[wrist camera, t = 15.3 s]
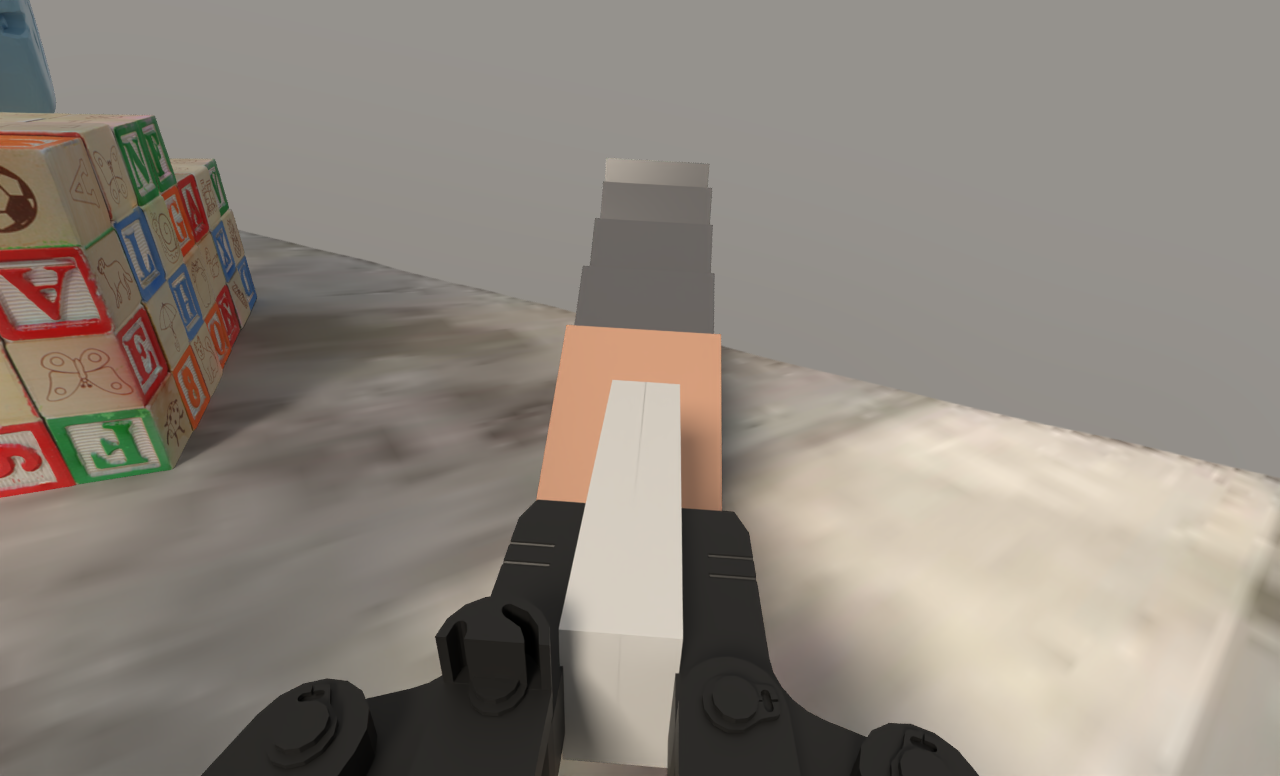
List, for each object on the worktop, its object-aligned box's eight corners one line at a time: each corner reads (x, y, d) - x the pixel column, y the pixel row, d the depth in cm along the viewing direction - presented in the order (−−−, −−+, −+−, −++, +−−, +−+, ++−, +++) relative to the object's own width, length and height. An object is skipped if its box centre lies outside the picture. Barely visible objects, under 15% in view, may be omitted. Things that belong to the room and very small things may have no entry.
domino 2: (697, 418, 26) (712, 187, 27) (584, 410, 26) (603, 181, 27) (694, 420, 28) (708, 203, 29) (588, 412, 28) (606, 197, 29)
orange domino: (722, 711, 13) (720, 334, 19) (503, 693, 14) (566, 324, 19) (713, 713, 15) (714, 364, 21) (515, 697, 15) (571, 355, 21)
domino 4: (710, 562, 18) (714, 273, 22) (543, 549, 18) (583, 265, 23) (703, 570, 19) (709, 299, 24) (550, 559, 19) (586, 292, 24)
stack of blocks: (150, 308, 38) (70, 100, 32) (259, 299, 40) (204, 103, 34) (-34, 508, 21) (-278, 136, 15) (178, 473, 23) (38, 138, 17)
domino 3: (702, 474, 22) (712, 224, 25) (568, 464, 22) (595, 218, 25) (698, 480, 24) (708, 246, 27) (573, 471, 24) (598, 240, 27)
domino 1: (692, 380, 30) (709, 163, 29) (595, 373, 31) (606, 158, 29) (690, 375, 32) (706, 171, 30) (599, 369, 32) (609, 165, 30)
